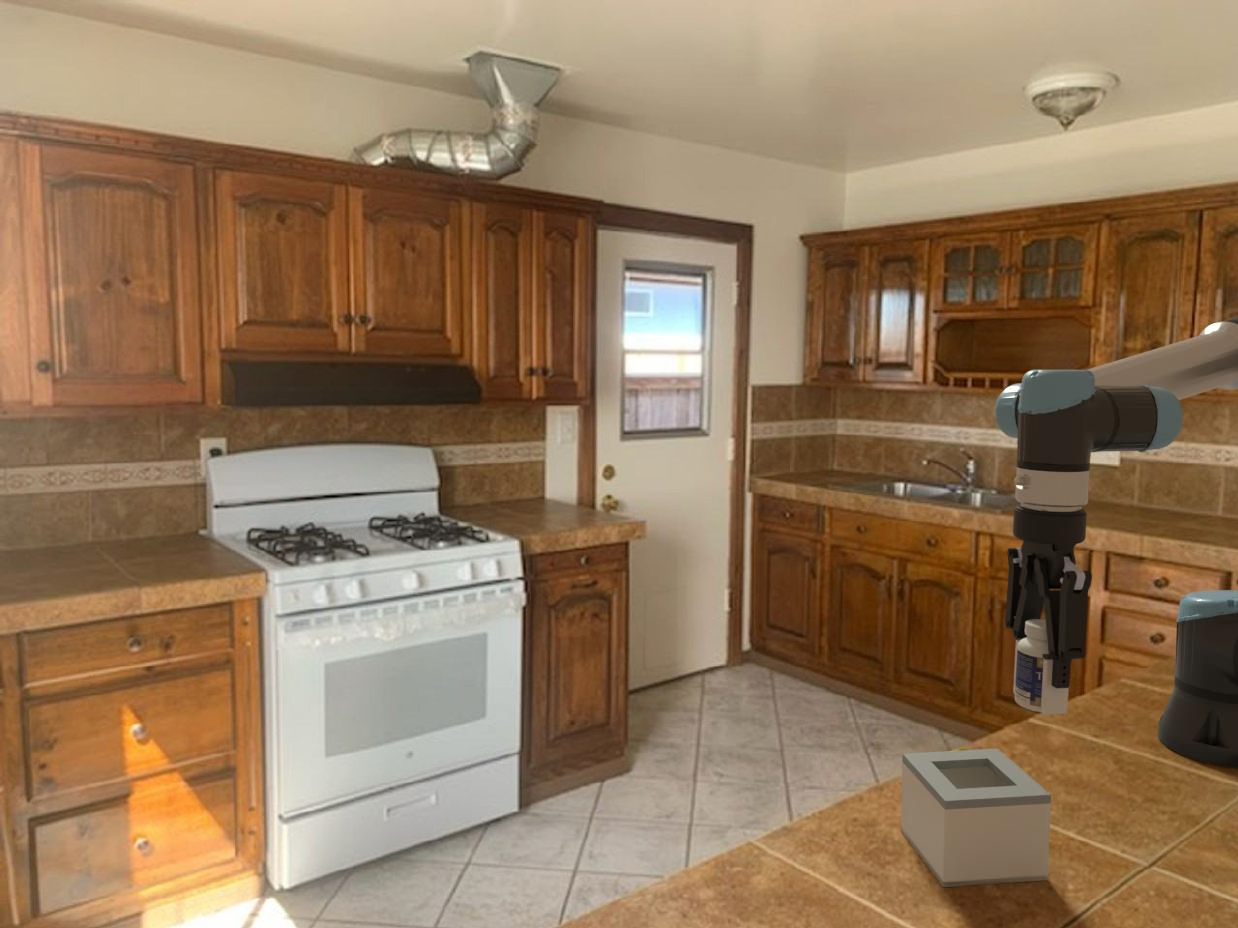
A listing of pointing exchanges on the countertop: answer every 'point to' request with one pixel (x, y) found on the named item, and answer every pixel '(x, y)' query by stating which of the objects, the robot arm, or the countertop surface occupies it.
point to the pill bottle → (1031, 665)
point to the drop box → (975, 817)
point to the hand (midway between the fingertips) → (1039, 702)
